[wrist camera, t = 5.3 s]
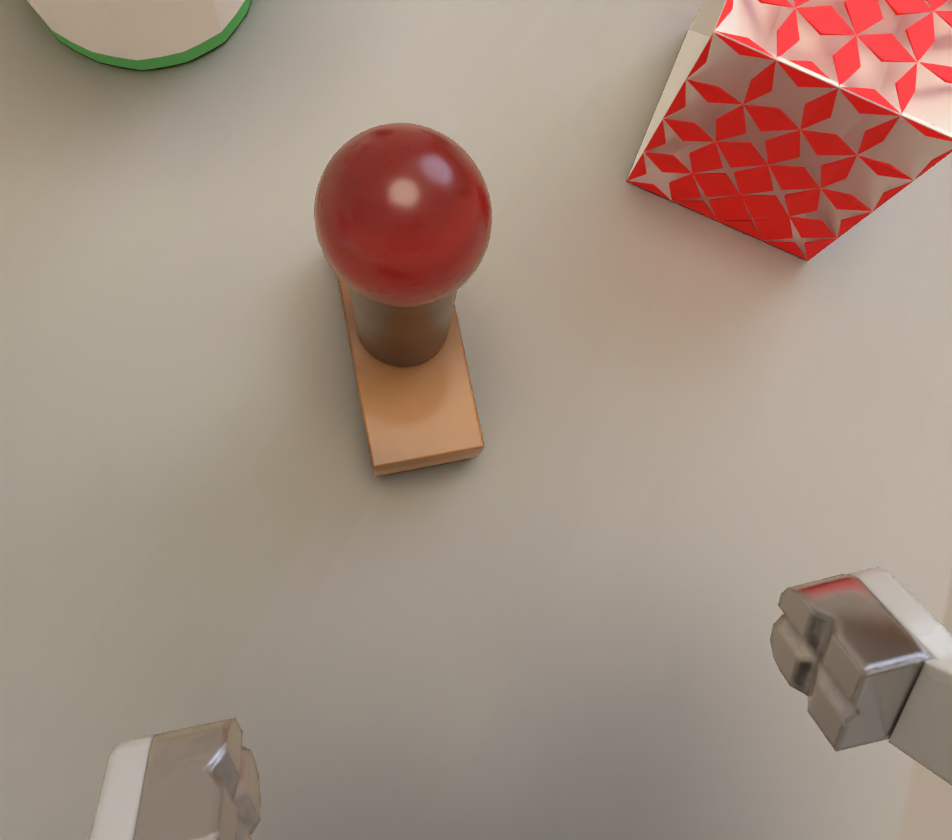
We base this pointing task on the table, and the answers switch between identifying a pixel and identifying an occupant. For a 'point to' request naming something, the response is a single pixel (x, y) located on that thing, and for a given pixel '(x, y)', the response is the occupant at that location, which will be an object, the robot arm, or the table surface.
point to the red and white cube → (801, 114)
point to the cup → (142, 28)
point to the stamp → (406, 286)
